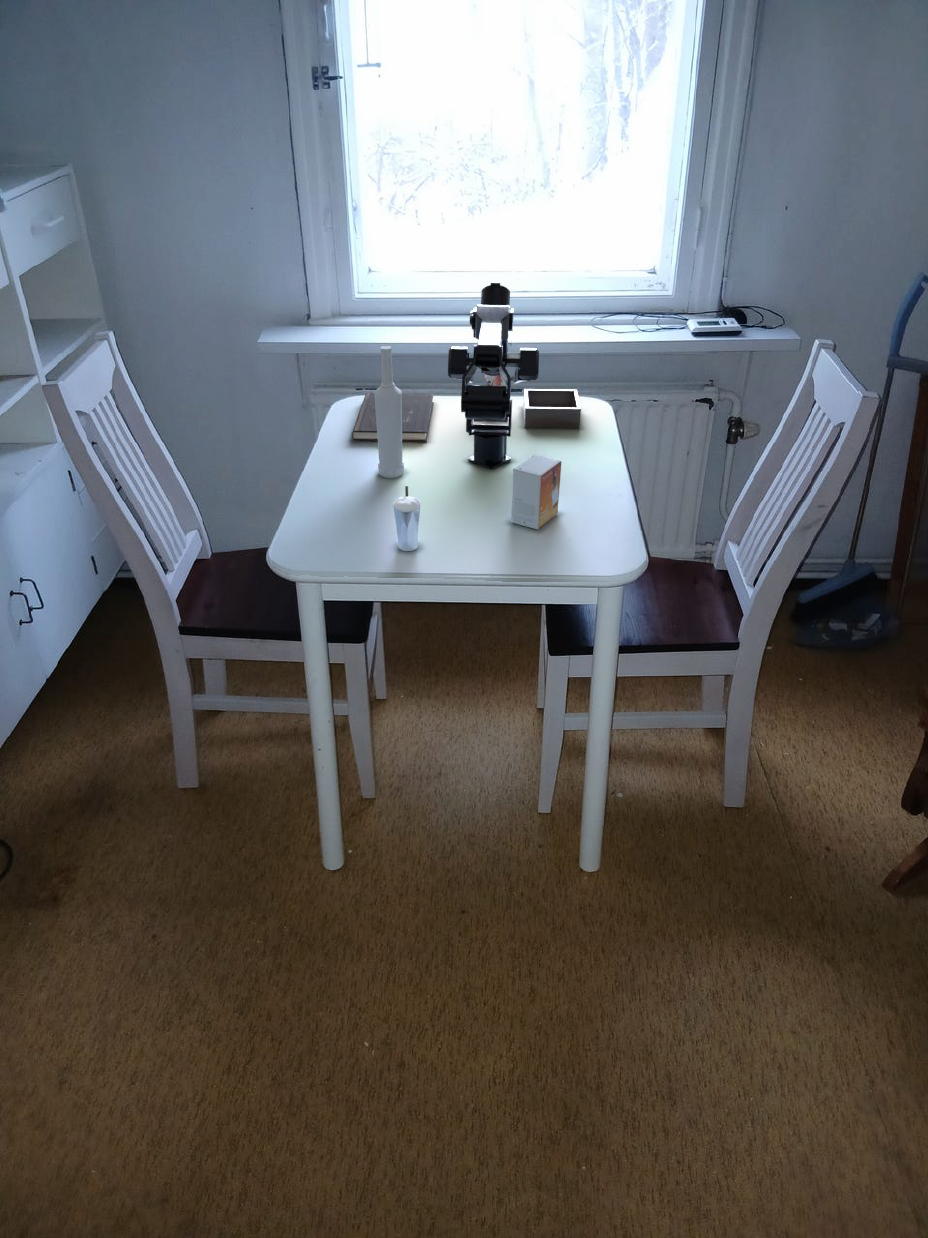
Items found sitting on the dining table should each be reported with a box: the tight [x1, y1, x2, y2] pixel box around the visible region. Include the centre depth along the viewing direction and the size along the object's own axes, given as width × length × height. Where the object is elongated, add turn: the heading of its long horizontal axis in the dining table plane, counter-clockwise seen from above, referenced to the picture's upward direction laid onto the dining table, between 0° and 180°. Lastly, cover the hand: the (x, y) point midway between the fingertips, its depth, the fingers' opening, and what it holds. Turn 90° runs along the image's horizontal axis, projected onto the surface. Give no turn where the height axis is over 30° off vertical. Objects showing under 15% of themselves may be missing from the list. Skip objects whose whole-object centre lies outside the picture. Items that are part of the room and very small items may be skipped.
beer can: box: [482, 373, 506, 386], centre depth 207 cm, size 5×5×12 cm
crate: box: [522, 388, 582, 429], centre depth 206 cm, size 12×12×4 cm
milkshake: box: [392, 485, 421, 552], centre depth 155 cm, size 5×5×10 cm
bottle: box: [373, 345, 405, 479], centre depth 175 cm, size 5×5×25 cm
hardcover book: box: [351, 392, 435, 443], centre depth 204 cm, size 16×23×2 cm
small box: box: [510, 454, 562, 530], centre depth 163 cm, size 8×6×10 cm
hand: (493, 381), depth 198 cm, fingers open, 9 cm apart
